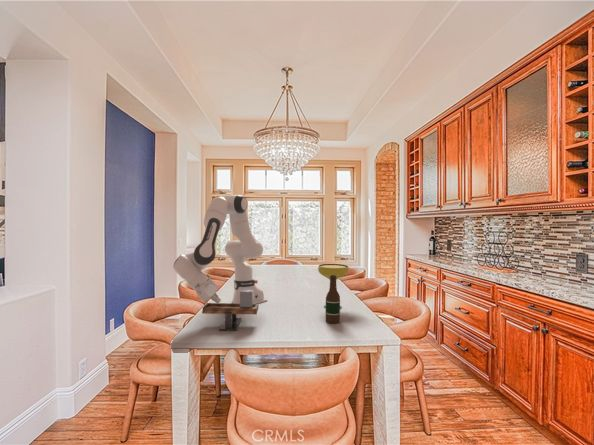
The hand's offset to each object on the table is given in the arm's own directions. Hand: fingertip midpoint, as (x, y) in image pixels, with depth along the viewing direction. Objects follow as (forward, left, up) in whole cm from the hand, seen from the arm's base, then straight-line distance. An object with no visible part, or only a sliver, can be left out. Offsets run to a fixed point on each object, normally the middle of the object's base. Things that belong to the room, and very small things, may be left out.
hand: (219, 302), depth 166 cm
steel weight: (-11, +8, -3) cm, 14 cm away
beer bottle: (-51, +27, -12) cm, 59 cm away
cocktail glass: (-70, +6, -12) cm, 71 cm away
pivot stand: (-5, +3, -11) cm, 13 cm away
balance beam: (-5, +3, -4) cm, 7 cm away
